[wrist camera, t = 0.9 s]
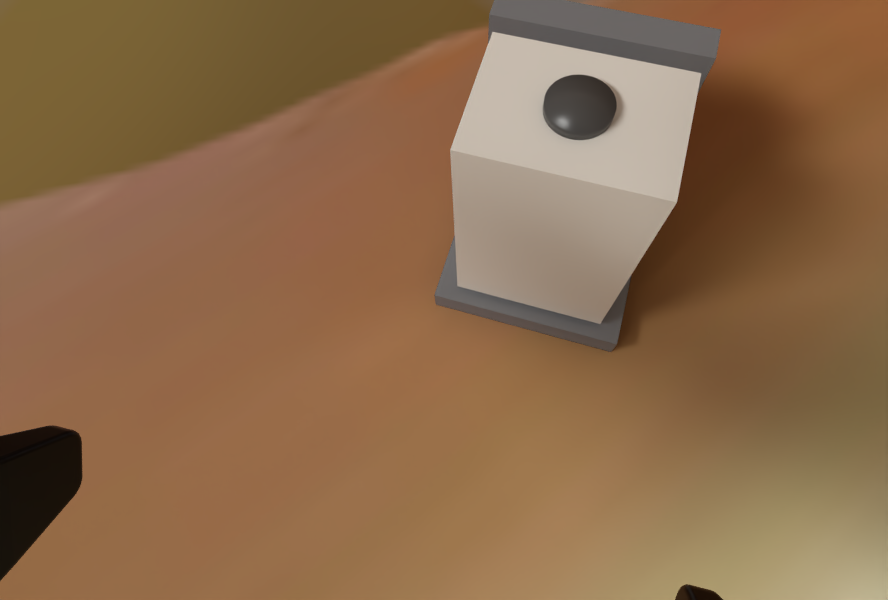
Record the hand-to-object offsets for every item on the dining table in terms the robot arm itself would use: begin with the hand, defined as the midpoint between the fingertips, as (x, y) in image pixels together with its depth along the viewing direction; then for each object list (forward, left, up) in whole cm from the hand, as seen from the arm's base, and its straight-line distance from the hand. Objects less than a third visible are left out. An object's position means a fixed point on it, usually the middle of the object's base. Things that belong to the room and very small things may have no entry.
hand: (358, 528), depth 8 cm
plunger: (+9, -6, -12) cm, 16 cm away
